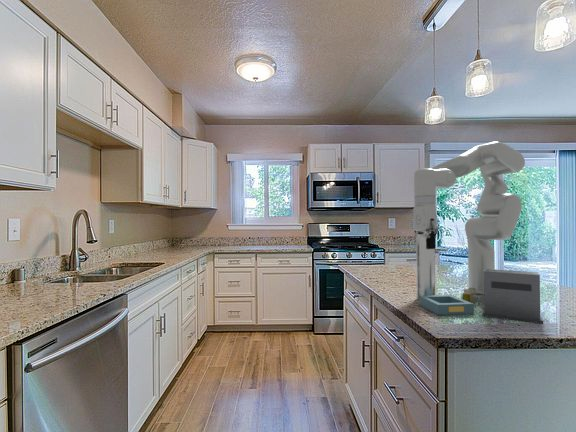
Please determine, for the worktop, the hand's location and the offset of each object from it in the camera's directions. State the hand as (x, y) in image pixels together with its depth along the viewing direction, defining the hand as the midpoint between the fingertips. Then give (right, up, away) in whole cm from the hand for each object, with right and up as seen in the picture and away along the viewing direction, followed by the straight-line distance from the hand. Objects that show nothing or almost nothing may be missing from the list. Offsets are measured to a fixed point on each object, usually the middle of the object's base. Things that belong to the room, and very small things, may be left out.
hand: (425, 247), depth 121 cm
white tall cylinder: (0, -20, 0) cm, 20 cm away
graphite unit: (+17, -19, -22) cm, 34 cm away
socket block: (0, -20, -14) cm, 24 cm away
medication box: (+16, -20, -2) cm, 26 cm away
